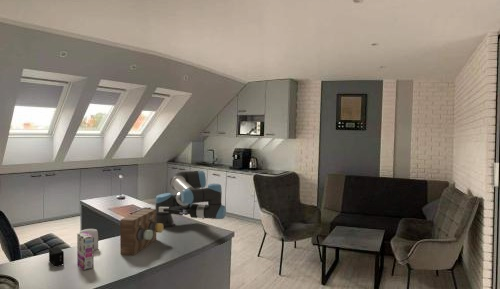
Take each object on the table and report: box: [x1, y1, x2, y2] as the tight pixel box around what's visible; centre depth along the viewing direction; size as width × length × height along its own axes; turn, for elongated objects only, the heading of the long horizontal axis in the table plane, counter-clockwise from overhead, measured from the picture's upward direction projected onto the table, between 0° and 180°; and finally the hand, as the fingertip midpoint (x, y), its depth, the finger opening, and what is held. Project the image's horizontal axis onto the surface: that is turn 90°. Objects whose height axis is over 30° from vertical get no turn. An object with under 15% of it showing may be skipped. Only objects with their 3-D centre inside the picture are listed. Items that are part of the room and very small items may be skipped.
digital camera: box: [48, 246, 65, 267], centre depth 168 cm, size 10×5×7 cm, turn 46°
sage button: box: [144, 230, 153, 240], centre depth 185 cm, size 6×3×6 cm, turn 170°
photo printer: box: [79, 228, 99, 251], centre depth 187 cm, size 10×4×12 cm, turn 104°
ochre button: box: [155, 223, 164, 234], centre depth 199 cm, size 6×3×6 cm, turn 170°
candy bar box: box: [76, 232, 95, 271], centre depth 164 cm, size 11×5×16 cm, turn 45°
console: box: [119, 208, 157, 256], centre depth 193 cm, size 28×10×20 cm, turn 170°
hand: (159, 209), depth 183 cm, fingers closed
